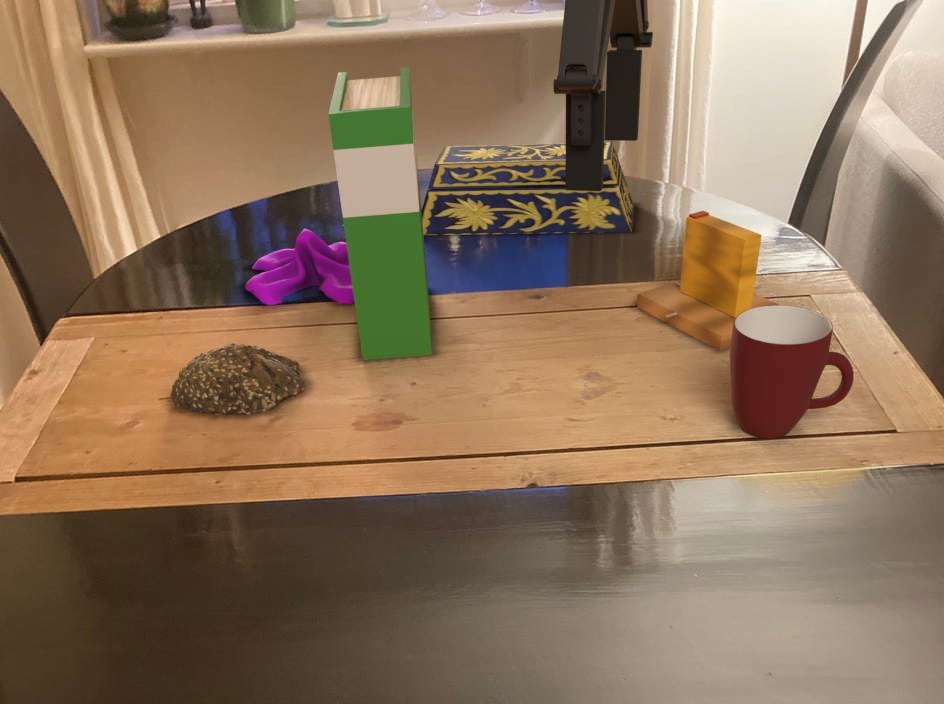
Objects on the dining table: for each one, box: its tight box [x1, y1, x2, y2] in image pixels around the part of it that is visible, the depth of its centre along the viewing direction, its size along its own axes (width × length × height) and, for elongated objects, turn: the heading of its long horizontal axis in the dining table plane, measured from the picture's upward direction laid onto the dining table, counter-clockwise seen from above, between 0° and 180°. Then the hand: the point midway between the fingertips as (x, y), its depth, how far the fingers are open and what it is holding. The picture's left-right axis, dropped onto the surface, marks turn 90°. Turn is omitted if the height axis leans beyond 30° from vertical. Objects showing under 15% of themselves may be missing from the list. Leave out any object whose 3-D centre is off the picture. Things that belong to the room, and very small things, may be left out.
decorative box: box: [421, 141, 635, 236], centre depth 129 cm, size 11×30×9 cm, turn 82°
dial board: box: [636, 280, 780, 351], centre depth 104 cm, size 14×13×2 cm
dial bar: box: [680, 210, 762, 317], centre depth 101 cm, size 9×2×8 cm, turn 29°
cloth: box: [244, 228, 355, 306], centre depth 120 cm, size 22×19×6 cm
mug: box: [729, 304, 855, 440], centre depth 83 cm, size 10×8×10 cm
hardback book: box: [328, 66, 433, 361], centre depth 100 cm, size 18×7×24 cm, turn 3°
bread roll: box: [170, 342, 306, 416], centre depth 97 cm, size 13×12×5 cm
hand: (603, 163), depth 76 cm, fingers open, 13 cm apart
